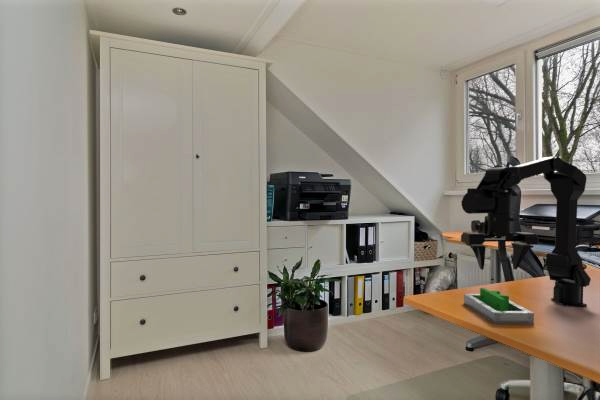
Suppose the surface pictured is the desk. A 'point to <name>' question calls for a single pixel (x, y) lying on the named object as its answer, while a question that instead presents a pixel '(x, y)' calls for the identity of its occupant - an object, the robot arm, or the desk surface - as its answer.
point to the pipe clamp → (494, 299)
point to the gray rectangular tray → (500, 317)
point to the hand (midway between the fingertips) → (498, 269)
